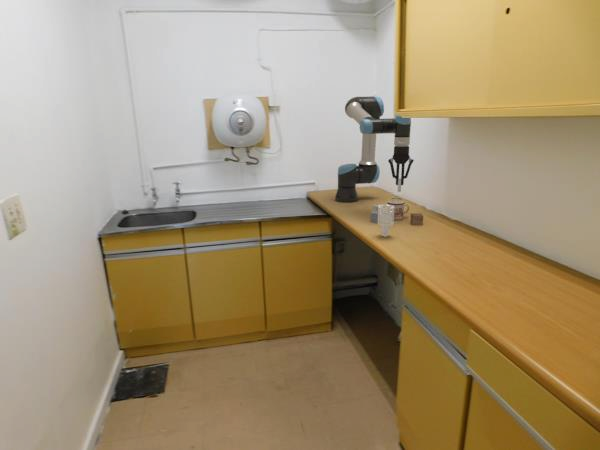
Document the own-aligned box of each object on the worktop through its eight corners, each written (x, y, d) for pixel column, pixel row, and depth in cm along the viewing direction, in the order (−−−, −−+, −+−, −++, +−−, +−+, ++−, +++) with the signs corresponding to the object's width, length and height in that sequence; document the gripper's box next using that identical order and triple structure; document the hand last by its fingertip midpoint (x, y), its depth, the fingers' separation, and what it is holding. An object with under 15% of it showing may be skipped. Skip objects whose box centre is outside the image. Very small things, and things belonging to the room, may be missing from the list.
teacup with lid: (389, 220, 196) (390, 198, 193) (384, 216, 205) (385, 195, 202) (411, 219, 197) (412, 198, 194) (405, 215, 206) (406, 194, 203)
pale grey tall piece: (379, 238, 168) (380, 206, 163) (375, 233, 174) (376, 202, 170) (394, 237, 168) (396, 205, 164) (390, 233, 175) (391, 202, 171)
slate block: (373, 219, 199) (373, 210, 197) (382, 220, 196) (382, 211, 195) (370, 222, 194) (370, 212, 193) (379, 223, 192) (380, 213, 191)
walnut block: (410, 222, 192) (410, 213, 191) (420, 222, 192) (420, 213, 191) (412, 225, 188) (413, 215, 186) (422, 225, 187) (423, 215, 186)
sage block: (372, 213, 212) (372, 204, 211) (380, 212, 213) (381, 204, 212) (375, 215, 207) (376, 206, 206) (384, 214, 208) (384, 206, 207)
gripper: (387, 146, 189) (385, 192, 196) (414, 146, 185) (411, 193, 192) (389, 145, 196) (387, 189, 203) (415, 145, 192) (412, 190, 198)
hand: (399, 191), depth 197 cm, fingers closed
